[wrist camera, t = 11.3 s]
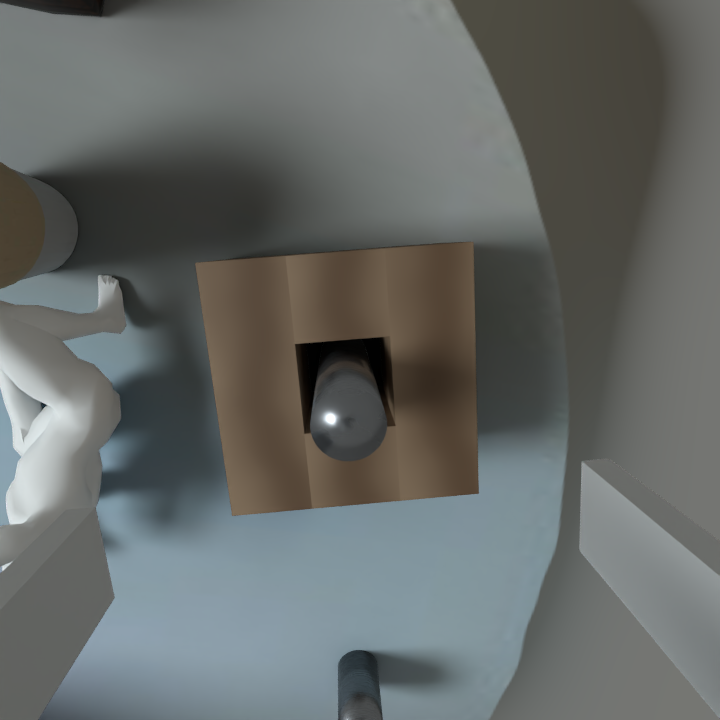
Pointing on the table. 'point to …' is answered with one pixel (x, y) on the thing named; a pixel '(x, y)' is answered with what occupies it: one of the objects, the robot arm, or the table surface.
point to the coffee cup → (32, 227)
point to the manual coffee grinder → (61, 6)
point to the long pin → (347, 403)
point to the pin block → (332, 323)
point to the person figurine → (54, 412)
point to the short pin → (358, 687)
